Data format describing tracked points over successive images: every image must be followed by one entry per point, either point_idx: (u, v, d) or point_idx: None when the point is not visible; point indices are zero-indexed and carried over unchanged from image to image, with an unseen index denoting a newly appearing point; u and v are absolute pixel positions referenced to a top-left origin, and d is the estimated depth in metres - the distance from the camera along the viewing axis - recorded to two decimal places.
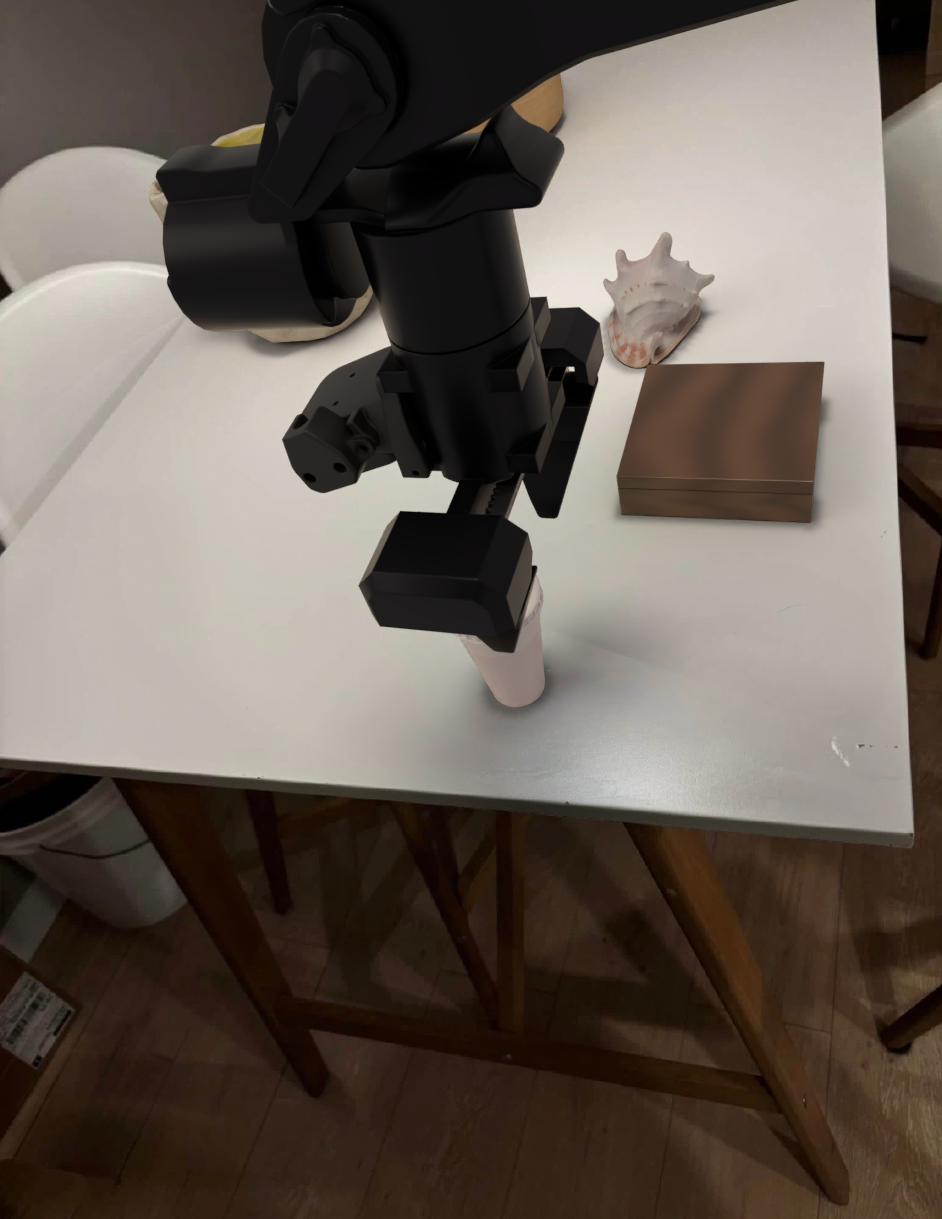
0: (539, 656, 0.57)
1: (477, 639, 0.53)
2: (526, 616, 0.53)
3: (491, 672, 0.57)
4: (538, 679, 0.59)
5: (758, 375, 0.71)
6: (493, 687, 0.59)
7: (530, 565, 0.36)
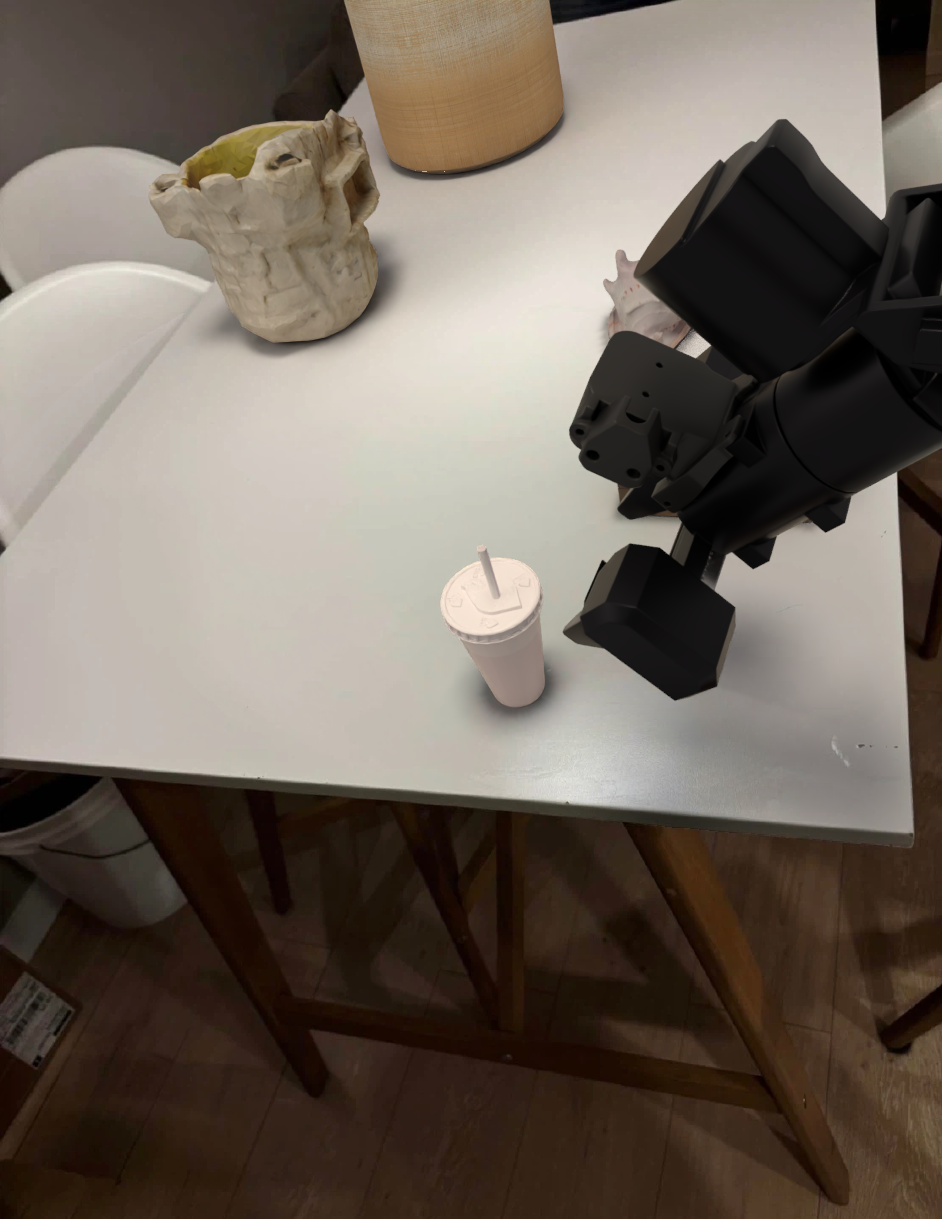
0: (539, 656, 0.57)
1: (477, 639, 0.53)
2: (526, 616, 0.53)
3: (491, 672, 0.57)
4: (538, 679, 0.59)
5: None
6: (493, 687, 0.59)
7: None
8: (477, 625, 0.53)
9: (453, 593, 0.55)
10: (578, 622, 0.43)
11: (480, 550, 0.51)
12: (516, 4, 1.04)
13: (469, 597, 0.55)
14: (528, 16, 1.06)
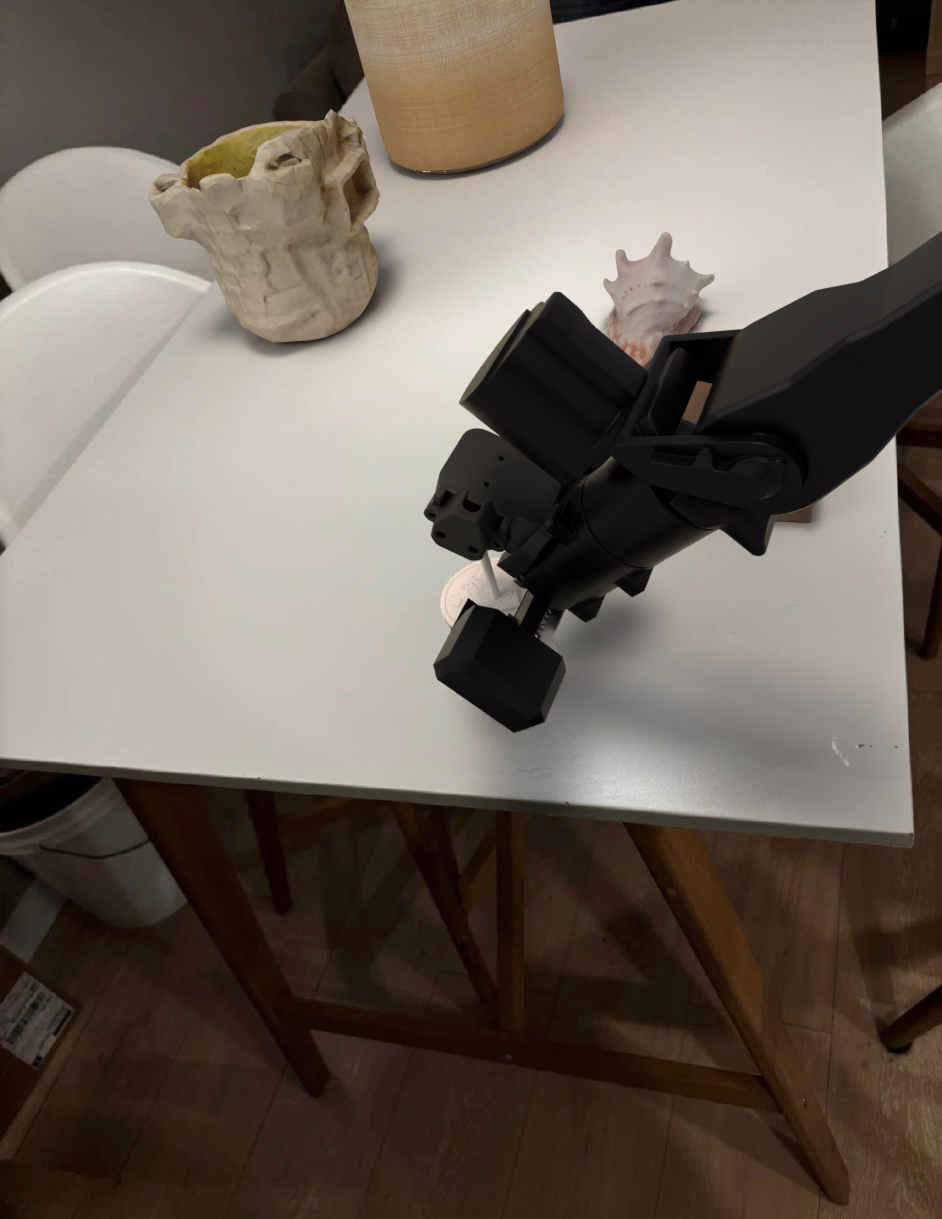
0: None
1: None
2: None
3: None
4: None
5: None
6: None
7: None
8: None
9: (453, 593, 0.55)
10: None
11: None
12: (516, 4, 1.04)
13: (469, 597, 0.55)
14: (528, 16, 1.06)
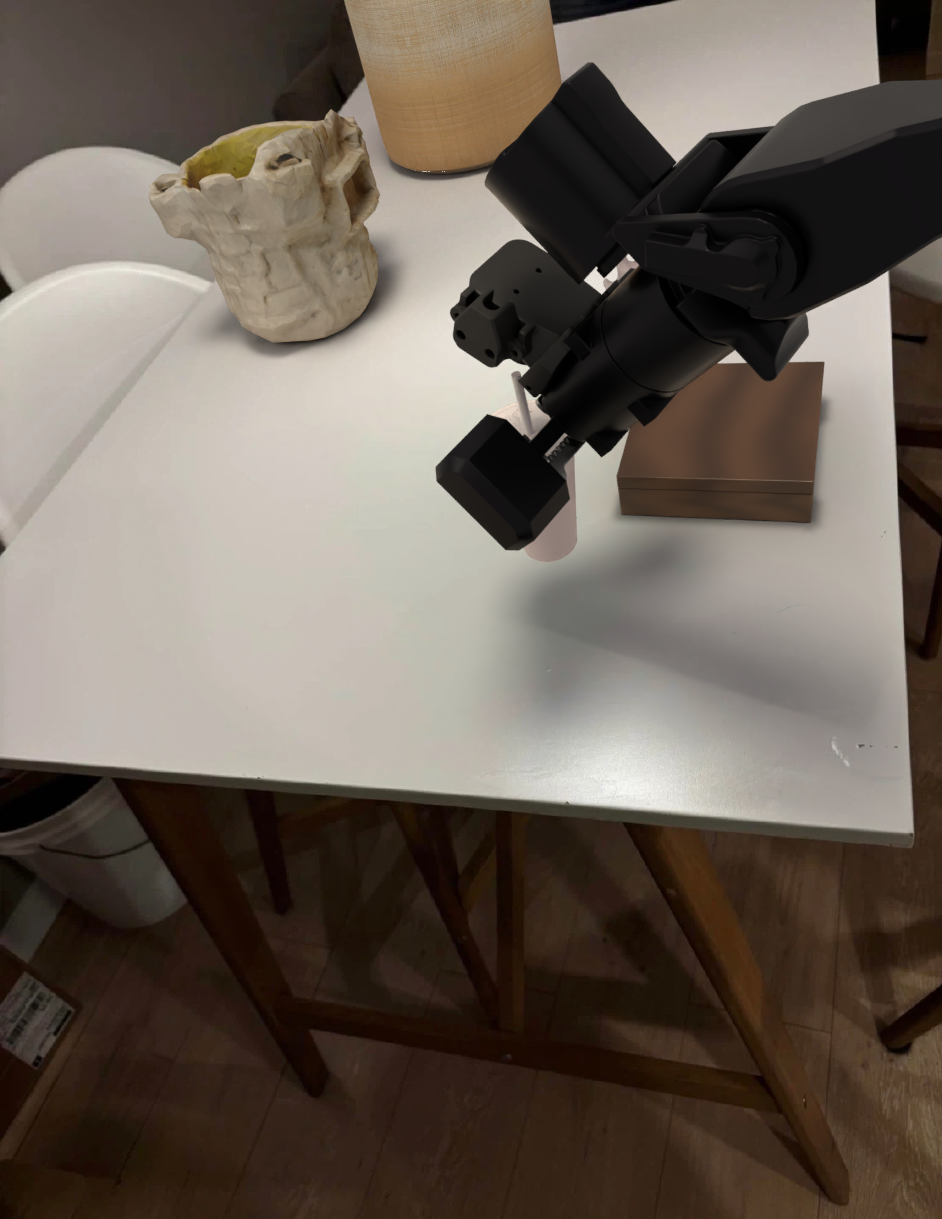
0: (568, 508, 0.57)
1: None
2: None
3: None
4: (566, 534, 0.58)
5: None
6: None
7: None
8: None
9: None
10: None
11: (514, 375, 0.50)
12: (516, 4, 1.04)
13: None
14: (528, 16, 1.06)
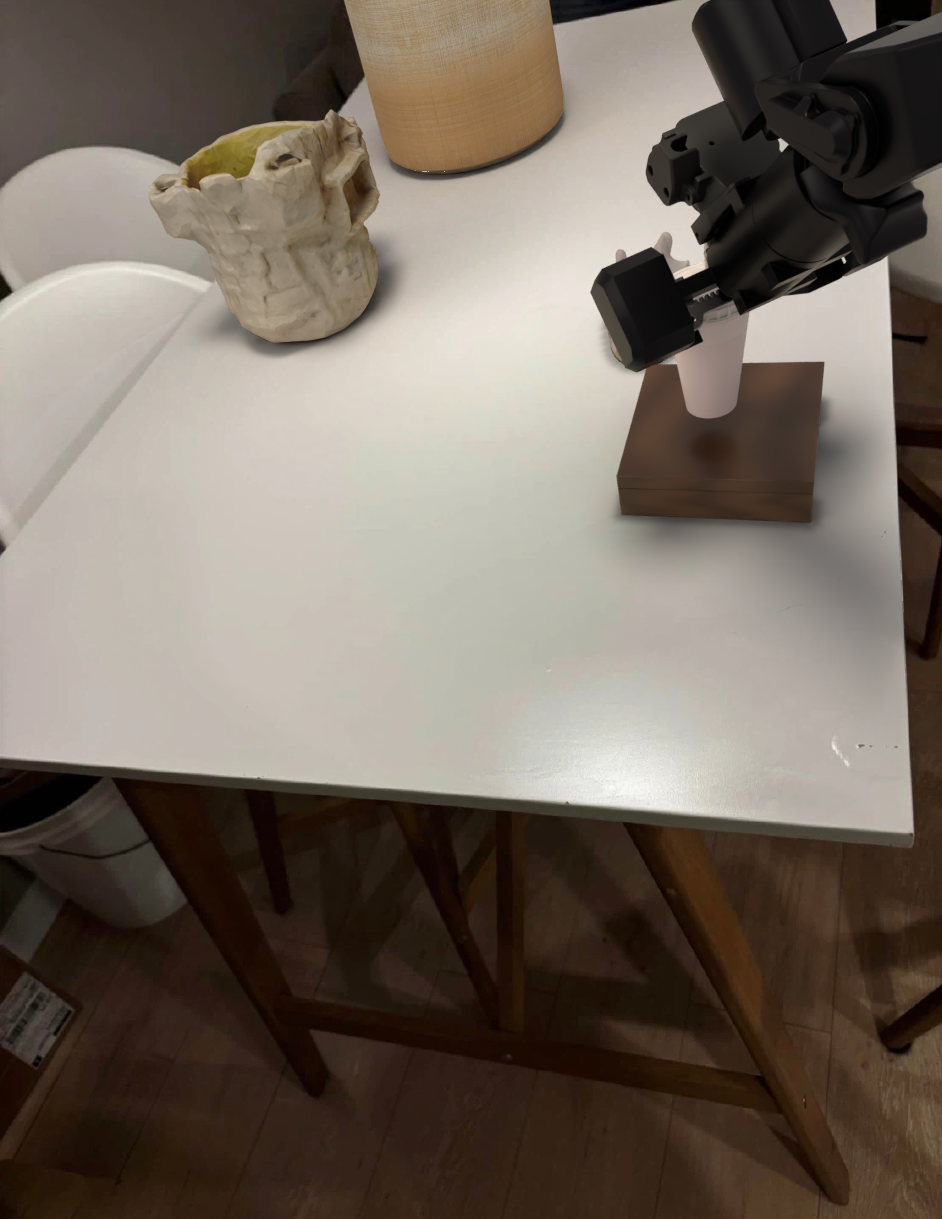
0: (727, 370, 0.62)
1: None
2: (717, 309, 0.58)
3: (680, 362, 0.63)
4: (720, 395, 0.64)
5: (758, 375, 0.71)
6: (681, 384, 0.65)
7: (679, 351, 0.54)
8: None
9: (682, 275, 0.61)
10: None
11: None
12: (516, 4, 1.04)
13: None
14: (528, 16, 1.06)
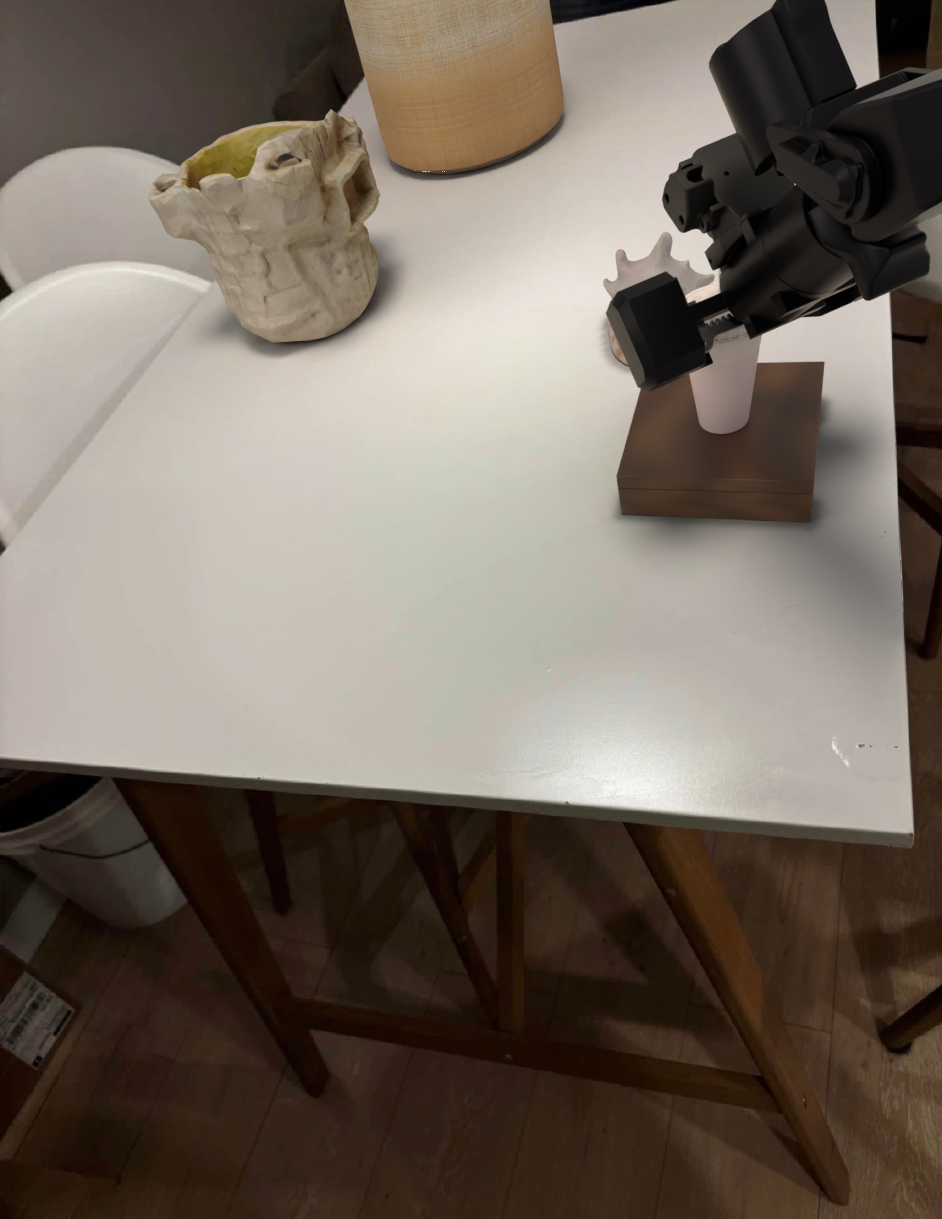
0: (738, 388, 0.64)
1: None
2: None
3: (693, 379, 0.65)
4: (731, 412, 0.66)
5: (758, 375, 0.71)
6: (695, 400, 0.67)
7: (690, 372, 0.56)
8: None
9: (698, 295, 0.63)
10: None
11: None
12: (516, 4, 1.04)
13: None
14: (528, 16, 1.06)
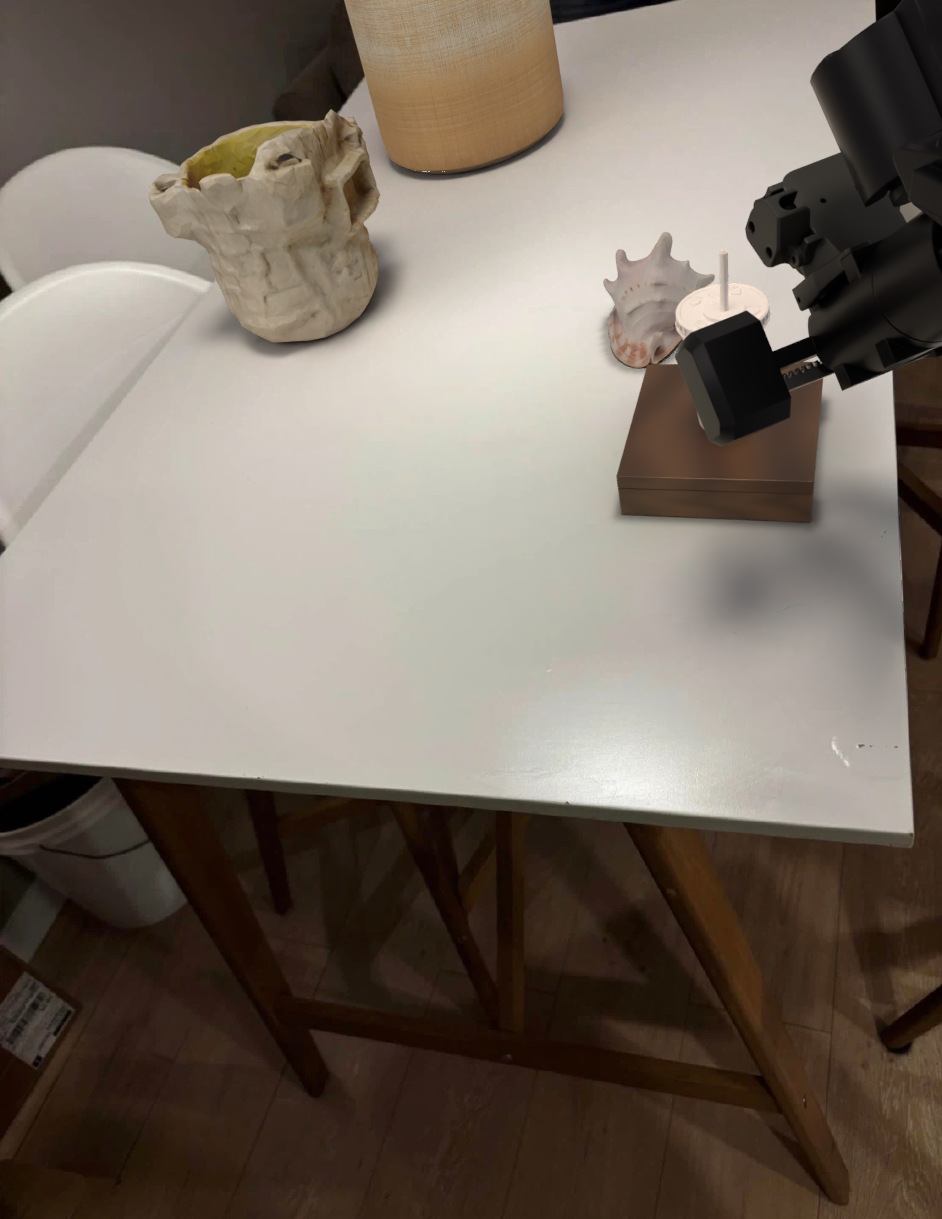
0: None
1: (685, 333, 0.61)
2: None
3: None
4: None
5: None
6: None
7: None
8: (691, 322, 0.61)
9: (699, 296, 0.63)
10: None
11: (721, 253, 0.58)
12: (516, 4, 1.04)
13: (706, 303, 0.62)
14: (528, 16, 1.06)
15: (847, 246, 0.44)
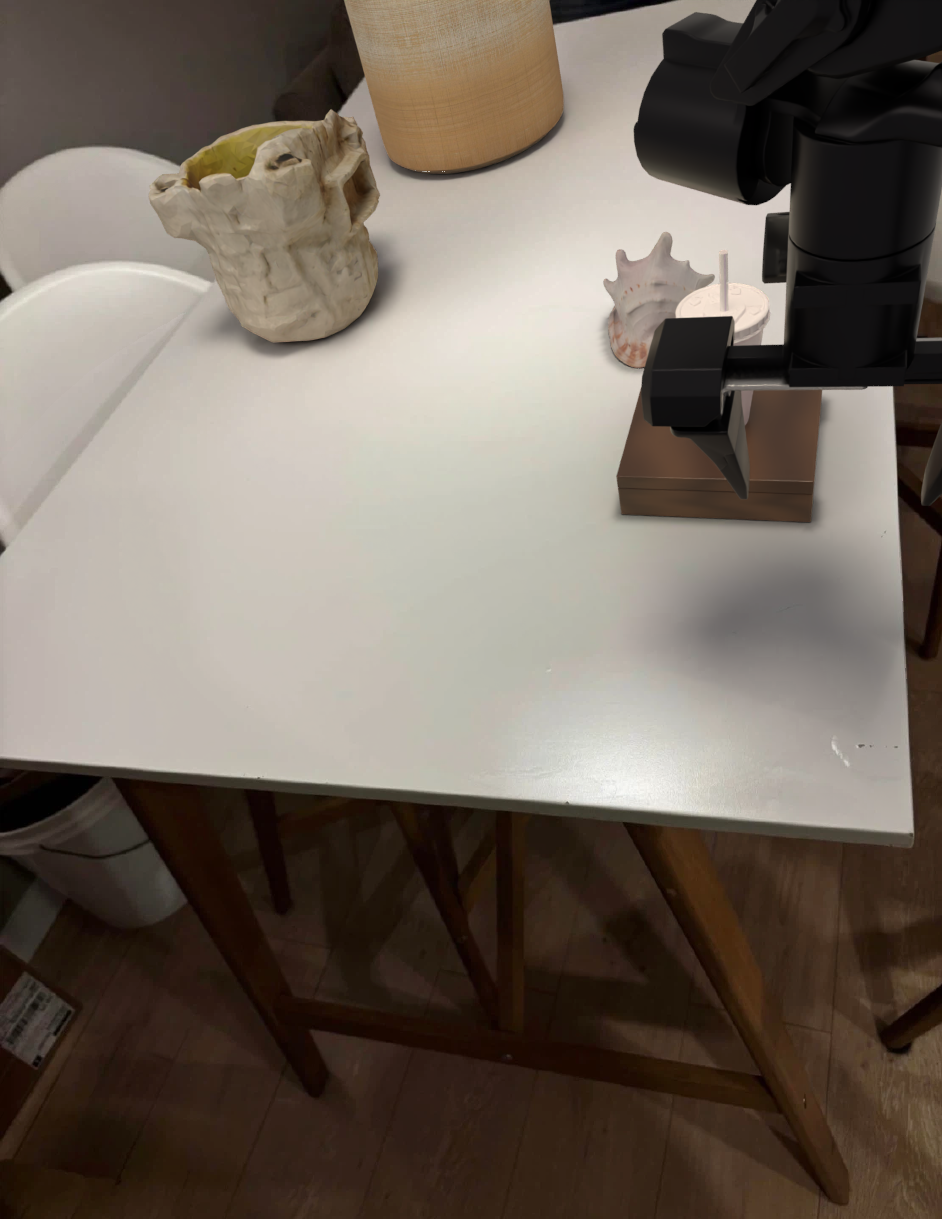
0: None
1: None
2: None
3: None
4: None
5: None
6: None
7: (709, 418, 0.43)
8: None
9: (699, 296, 0.63)
10: None
11: (720, 253, 0.58)
12: (516, 4, 1.04)
13: (705, 303, 0.62)
14: (528, 16, 1.06)
15: None
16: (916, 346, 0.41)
